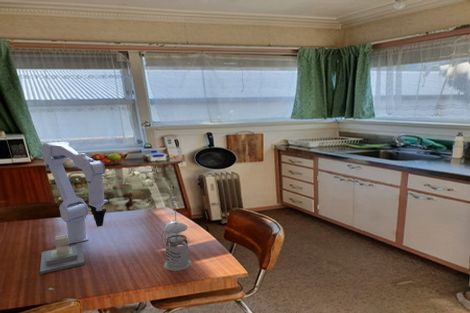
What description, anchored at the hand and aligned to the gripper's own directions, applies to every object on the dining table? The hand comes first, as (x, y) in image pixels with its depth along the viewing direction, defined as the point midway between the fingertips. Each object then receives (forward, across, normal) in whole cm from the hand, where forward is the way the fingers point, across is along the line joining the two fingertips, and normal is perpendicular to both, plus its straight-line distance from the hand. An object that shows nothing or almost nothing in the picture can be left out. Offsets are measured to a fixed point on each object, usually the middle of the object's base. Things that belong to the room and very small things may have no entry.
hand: (98, 223), depth 130 cm
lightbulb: (+10, -17, -26) cm, 33 cm away
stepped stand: (+10, -5, +14) cm, 18 cm away
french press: (+10, -31, -22) cm, 39 cm away
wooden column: (+7, -5, +14) cm, 16 cm away
